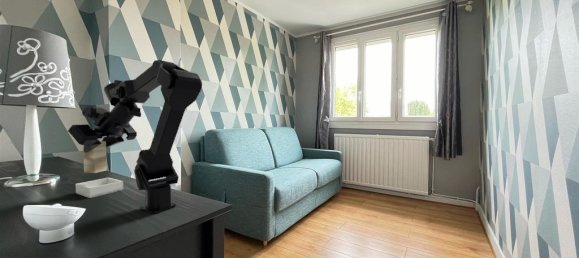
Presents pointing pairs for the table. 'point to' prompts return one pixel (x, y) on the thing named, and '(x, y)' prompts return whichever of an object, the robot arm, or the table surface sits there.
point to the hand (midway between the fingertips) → (91, 150)
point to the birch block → (95, 159)
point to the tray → (99, 187)
